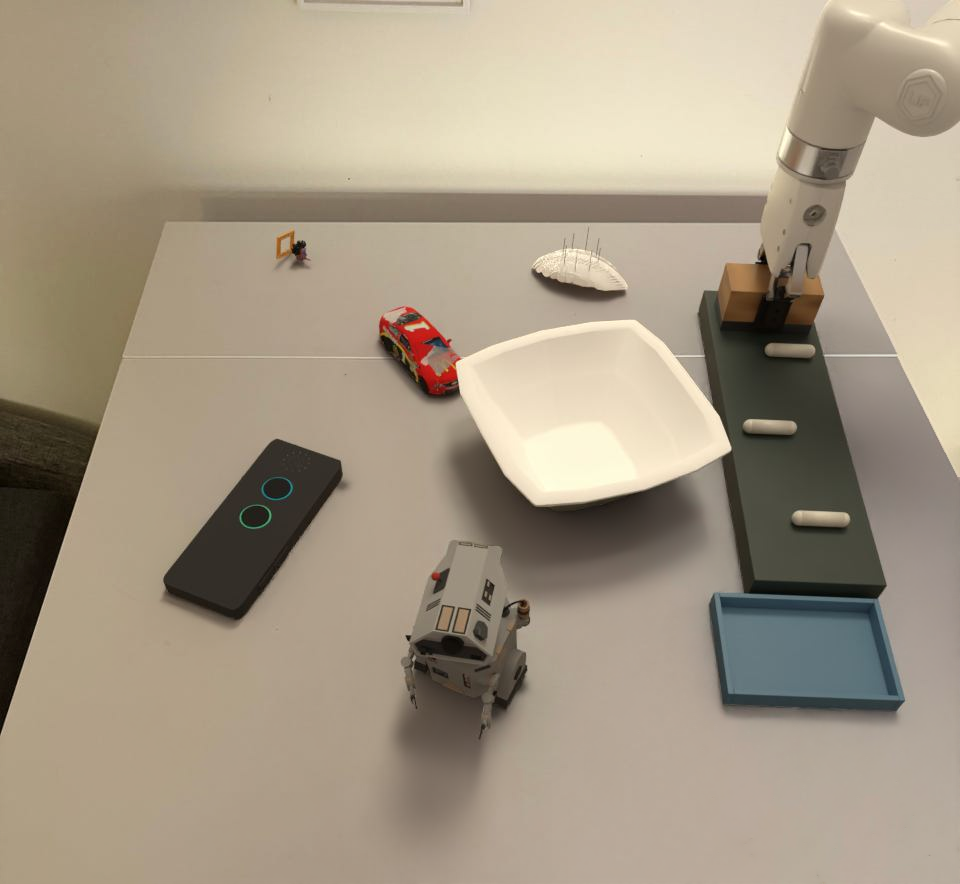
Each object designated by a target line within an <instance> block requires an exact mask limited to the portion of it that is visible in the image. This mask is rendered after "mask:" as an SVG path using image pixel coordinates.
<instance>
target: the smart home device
mask: <svg viewBox="0 0 960 884" xmlns="http://www.w3.org/2000/svg"><path fill="white" fill-rule="evenodd" d="M343 474H344V473H343V466H342V461H341V460H340V459H337V458H334V457H332V456H329V455H326V454H324V453H320V452H317V451H315V450H311V449H309V448H306V447H303V446H300V445H297V444H294V443H292V442H289V441H286V440H283V439H280V438H275V439H273V440H271V441H270V442H269V443H268V444H267V445H266V447H264V449H263V450H262V452H261V453H260V454H259V455H258V456H257V458H255V460H254V462H253V463H252V464H251V465H250V466H249V468H248V469H247V470H246V471H245V473H244V474H243V475H242V476H241V478H240V479H239V480H238V482H237V483H235V485H234V487H233V488H232V490H231V491H230V492H229V493H228V494H227V496H226V497H225V498H224V499H223V501H222V502H221V503H220V504H219V506H218V507H217V508H216V509H215V511H214V512H213V513H212V514H211V515H210V517H209V518H208V519H207V521H206V522H205V523H204V525H203V526H202V527H201V528H200V530H199V531H198V532H197V533H196V534H195V536H194V537H193V539H192V540H191V541H190V542H189V543H188V544H187V546H186V548H185V549H184V550H183V551H182V552H181V554H180V555H179V556H178V557H177V559H176V560H175V561H174V562H173V564H172V565H171V566H170V568H169V569H168V570H167V571H166V573H165V574H164V576H163V578H162V583H163V584H164V587H165V589H166V591H167V593H168V594H170V595H172V596H175V597H177V598H179V599H182V600H185V601H187V602H190V603H192V604H195V605H197V606H200V607H203V608H205V609H207V610H210V611H213V612H216V613H218V614H220V615H223V616H225V617H228V618H230V619H233V620H237V621H238V620H240V619H242V618H243V617H244V616H245V615H246V614H247V613H248V611H249V610H250V608H251V607H252V606H253V605H254V603H255V601H256V600H257V598H259V596H260V595H261V593H262V592H263V590H264V589H265V588H266V586H267V584H268V583H269V582H270V580H271V579H272V577H273V576H274V574H275V573H276V572H277V570H278V569H279V568H280V566H281V565H282V563H283V562H284V560H285V559H286V558H287V557H288V555H289V553H290V552H291V551H292V550H293V547H294V546H295V545H296V543H297V542H298V540H299V539H300V538H301V536H302V535H303V533H304V532H305V531H306V529H307V528H308V527H309V525H310V524H311V523H312V521H313V520H314V518H315V517H316V515H317V514H318V513H319V511H320V510H321V508H322V507H323V505H324V504H325V502H326V501H327V500H328V498H329V497H330V496H331V494H332V493H333V492H334V490H335V489H336V487H337V486H338V484H339V483H340V481H341V480H342V478H343Z"/></svg>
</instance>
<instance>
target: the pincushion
mask: <svg viewBox="0 0 960 884" xmlns="http://www.w3.org/2000/svg"><path fill="white" fill-rule="evenodd" d="M589 230H590V227H589V226H588V229H587V232H589ZM572 235H573V237H572V240H574V239H575V234H572ZM588 236H589V233H587V236H586V239H589V238H588ZM585 242H586V243H585V246H588V245H587V244H588V241H585ZM565 243H566V239H564V241H563V246H565V248H562V249H559V250H555V251H552V252H548V253H547V254H544V255H542V256H540V257H539V258H537V260H535V262H534V263H533V264H532V266H531V269H533V270H535V272H536V273H538V274H540V273H542V275H543V276H544V277H545V278H550V279H552V280H555V279H556V280H557V281H558V282H560V283H561V284H564V283H566V284H572V286H574V285H576V286H580V287H583V288H584V287H585V288H595V290H598V291H599V290H600V291H603V292H606V291H623V290H624V291H627V290H628V287H629V285H628V284H627V282H626V281H625V279H624V278H623V276H622V274H621V273H620V271H619V270H618V269H617V268H616V267H615V265H614V264H613V263H611V262H609V261H608V260H607V259H606V258H605V257H602V256H601V251H599V254H598V252H596V253H595V252H593V251H589V250H587V248H585V249H580V248H573V247H574V242H572V243H571V248H567V245H566V244H565ZM599 243H600V239H598V241H597V244H599ZM598 247H599V245H597V246H596V251H598V249H599V250H601V247H599V248H598Z"/></svg>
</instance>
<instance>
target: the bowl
mask: <svg viewBox="0 0 960 884" xmlns="http://www.w3.org/2000/svg"><path fill="white" fill-rule="evenodd" d="M456 370H457V376H458V382H459V388H460V389H459V394H460V397H461V399H462V400H463V402H464V405H465V407H466V408H467V410H468V412H469V414H470V416H471V418H472V420H473V421H474V424H475V425H476V427H477V429H478V431H479V433H480V435H481V437H482V438H483V441H484V442H485V444H486V445H487V448H488V449H489V451H490V453H491V454H492V455H493V458H494V459H495V461H496V464H497V465H498V467H499V468H500V470H501V472H502V473H503V475H504V477H505V478H506V479H507V480H509V482H510V483H511V484H512V485H513V486H514V487H515V488H516V489H517V490H518V491H519V492H520V493H521V495H523V496H524V498H526V500H528V501H529V503H530V504H531V505H533V506H534V507H536V508H537V507H538V508H544V507H545V508H546V507H547V508H550V509H551V510H552V511H554V512H568V511H569V512H571V511H581V510H584V509H590V508H593V507H599V506H604V505H606V504H609V503H612V502H614V501H617V500H619V499H622V498H625V497H628V496H630V495H632V494H636V493H641V492H645V491H648V490H650V489H654V488H656V487H658V486H661V485H664V484H667V483H669V482H672V481H675V480H677V479H680V478H682V477H685V476H688V475H691V474H693V473H696V472H698V471H700V470H702V469H703V468H705V467H707V466H708V465H710V464H712V463H715V462H716V461H717V460H719V459H722V457H723V456H725V455H726V454H728V453H729V452H730V451H731V445H730V443H729V440H728V437H727V435H726V432H725V430H724V427H723V424H722V422H721V419H720V416H719V415H718V414H717V412H716V411H715V409H714V406H713V405H712V404H711V403H710V401H709V400H708V399H707V397H706V396H705V394H704V393H703V392H702V390H701V389H700V388H699V386H698V385H697V384H696V382H695V381H694V379H693V378H692V376H691V375H690V374H689V373H688V372H687V370H686V369H685V368H684V367H683V365H682V364H681V363H680V361H679V360H678V359H677V358H676V356H675V354H673V352H672V351H671V350H670V348H669V347H668V346H667V345H666V343H665V342H664V341H663V340H661V339H660V338H659V337H657V336H656V335H655V334H654V333H652V332H651V331H650V330H649V329H648V328H646V327H645V326H644V325H642V324H641V322H639V321H638V320H636V319H621V320H619V319H618V320H605V321H604V320H603V321H602V320H601V321H590V322H584V323H578V324H571V325H566V326H561V327H553V328H548V329H541V330H539V331H535V332H532V333H528V334H525V335H522V336H519V337H515V338H512V339H508V340H506V341H502V342H499V343H495V344H492V345H490V346H488V347H486V348H483V349H481V350H479V351H477V352H474V353H472V354H471V355H467V356H466V357H464V358H461V360H459V361H457V362H456Z"/></svg>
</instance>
